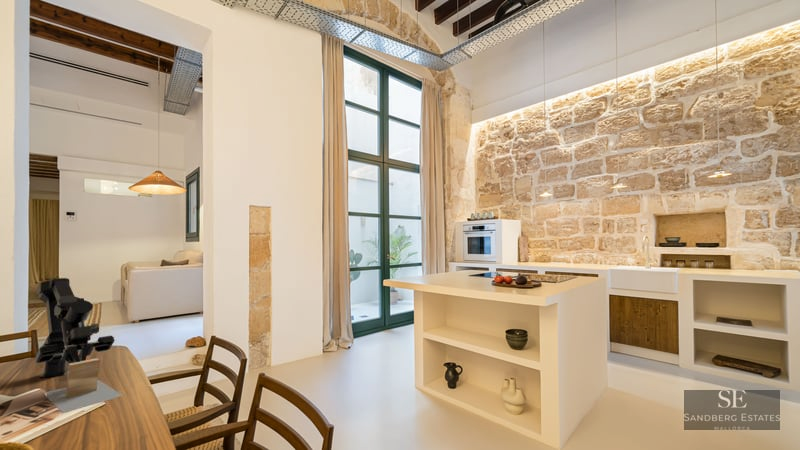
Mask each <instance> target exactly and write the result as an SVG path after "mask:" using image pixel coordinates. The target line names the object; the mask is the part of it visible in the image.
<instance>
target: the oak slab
mask: <svg viewBox="0 0 800 450" xmlns="http://www.w3.org/2000/svg"><path fill="white" fill-rule="evenodd" d="M100 362H101V360H100V359H99V358H92V359H91V358H90V359H88V360H85V361H81V362H76V363H71V364H70V363H69V364H68V367H67V368H68V371H67V377H66V387H65V388H66V394H65V396H66V397H67V398H69V397H73V396H77V395H81V394H85V393H89V392H92V391H96V390H97V382H98V380H99V372H100V371H99V370H100Z"/></svg>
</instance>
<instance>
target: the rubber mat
mask: <svg viewBox="0 0 800 450" xmlns="http://www.w3.org/2000/svg"><path fill="white" fill-rule="evenodd" d="M46 393H47V396H45V398H47V399H48V400H49V401H50V402H51V403H52V405H54V406H55V407H56V408H57V409H59V411H60V412H61V413H62V414H64V413H68V412H72V411H75V410H78V409H82V408H85V407H89V406H93V405H96V404H99V403H102V402H106V401H110V400H114V399H117V398H121V397H123V396H124V395H123V394H121V393H120V392H118V391H117V390H116V389H114V388H112V387H110V386H109V385H108V384H106V383H105V382H103V381H102V380H100V379H98V382H97V390H96V391H92V392H89V393H85V394H81V395H77V396H73V397H69V398H67V397H66V396H65V394H66V387H63V388H57V389H54V390H50V391H46Z"/></svg>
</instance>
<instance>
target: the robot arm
mask: <svg viewBox="0 0 800 450" xmlns="http://www.w3.org/2000/svg"><path fill="white" fill-rule="evenodd" d="M70 284H71V283H70V278H67V277H60V278H51V279H49V280H46V281H42V282H40V283H39V284H38V285H37V286H36V294H38V298H39V300H40V301H42V302H43V303H44V304H45V307H46V317H47V324H48V326H47V327H48V336H47V337H46V339H45V341H44V343H43V344H42V345H41V346H40V347H39V348H38V350H37V352H36V355H35V363H37V364H41V363H44V367H43V368H44V369H43V373H42V374H40V375H39V379H40V378H42V379H43V378H49V377H58V376H64V375H65V374H66V373H68V367H67V363H69V364H71V363H76V362H81V361H86V359H87V357H88V356H90V355H91V353H93V350H95V352H97V353H98V352H99V353H100V352H105V351H108V350H111V348H112V347H113V344H114V343H115V336H113V335H110V334H109V335H106V336H99V337H98V339H97V340H96V341H92V342H89V341H90V340H91V338H92V337H91V336H93V334H97V333H99V332H100V325H99V323H91V325H85V321H87V319H89V316H90V314H91V312H92V309H93V307H94V305H93V303H92V302H91V301H88V300H85V299H84V297H78V296H76V295H75V294H74V292H73V290H72V287H71V285H70Z"/></svg>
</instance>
